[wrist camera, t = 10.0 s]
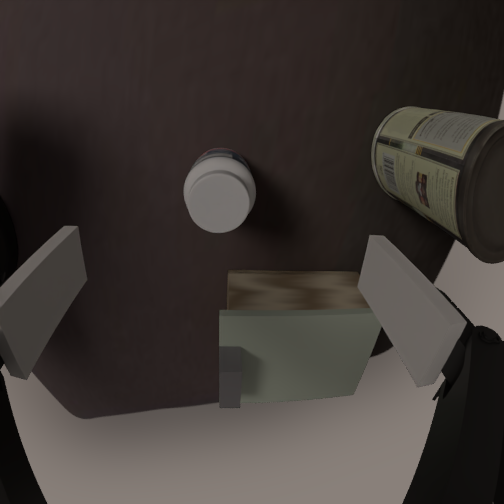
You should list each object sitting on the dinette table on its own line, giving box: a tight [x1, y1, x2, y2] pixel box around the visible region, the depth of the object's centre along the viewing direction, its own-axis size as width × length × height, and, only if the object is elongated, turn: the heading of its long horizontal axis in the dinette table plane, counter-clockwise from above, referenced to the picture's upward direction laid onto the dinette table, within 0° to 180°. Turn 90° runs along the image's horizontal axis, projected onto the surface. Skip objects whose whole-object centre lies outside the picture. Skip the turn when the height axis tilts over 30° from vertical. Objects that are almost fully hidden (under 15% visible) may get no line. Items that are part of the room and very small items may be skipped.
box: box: [227, 270, 370, 310], centre depth 32 cm, size 14×11×7 cm
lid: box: [219, 308, 382, 408], centre depth 27 cm, size 15×12×4 cm
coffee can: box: [371, 107, 504, 264], centre depth 21 cm, size 10×10×14 cm
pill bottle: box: [184, 148, 256, 233], centre depth 24 cm, size 5×5×9 cm
